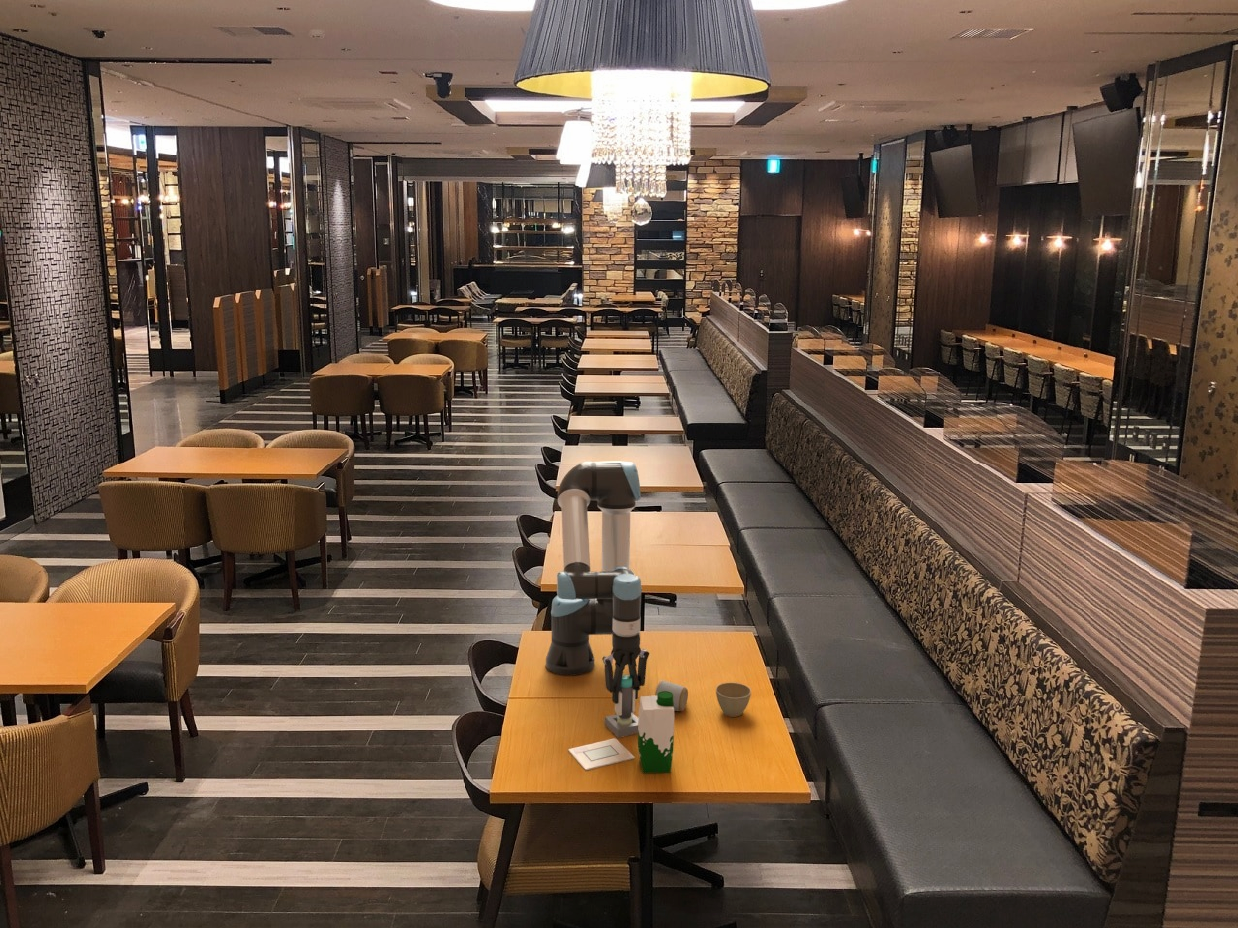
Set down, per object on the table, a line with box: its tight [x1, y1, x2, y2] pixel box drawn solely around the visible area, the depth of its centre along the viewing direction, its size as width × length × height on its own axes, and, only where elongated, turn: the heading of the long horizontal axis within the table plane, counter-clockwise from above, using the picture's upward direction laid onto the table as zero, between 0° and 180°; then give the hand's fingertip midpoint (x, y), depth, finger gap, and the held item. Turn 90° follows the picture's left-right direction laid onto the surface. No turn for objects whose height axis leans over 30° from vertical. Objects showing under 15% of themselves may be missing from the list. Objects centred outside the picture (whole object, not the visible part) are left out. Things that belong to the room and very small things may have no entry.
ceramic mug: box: [654, 679, 689, 712], centre depth 300 cm, size 11×8×8 cm
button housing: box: [604, 712, 638, 739], centre depth 287 cm, size 8×8×2 cm
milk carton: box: [637, 691, 675, 774], centre depth 266 cm, size 9×9×20 cm
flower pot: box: [715, 682, 752, 718], centre depth 297 cm, size 10×10×7 cm
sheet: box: [567, 737, 635, 771], centre depth 274 cm, size 11×14×1 cm
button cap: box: [617, 716, 632, 726], centre depth 287 cm, size 4×4×3 cm
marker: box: [618, 674, 632, 721], centre depth 285 cm, size 4×4×12 cm
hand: (624, 711), depth 286 cm, fingers closed on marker, 3 cm apart
